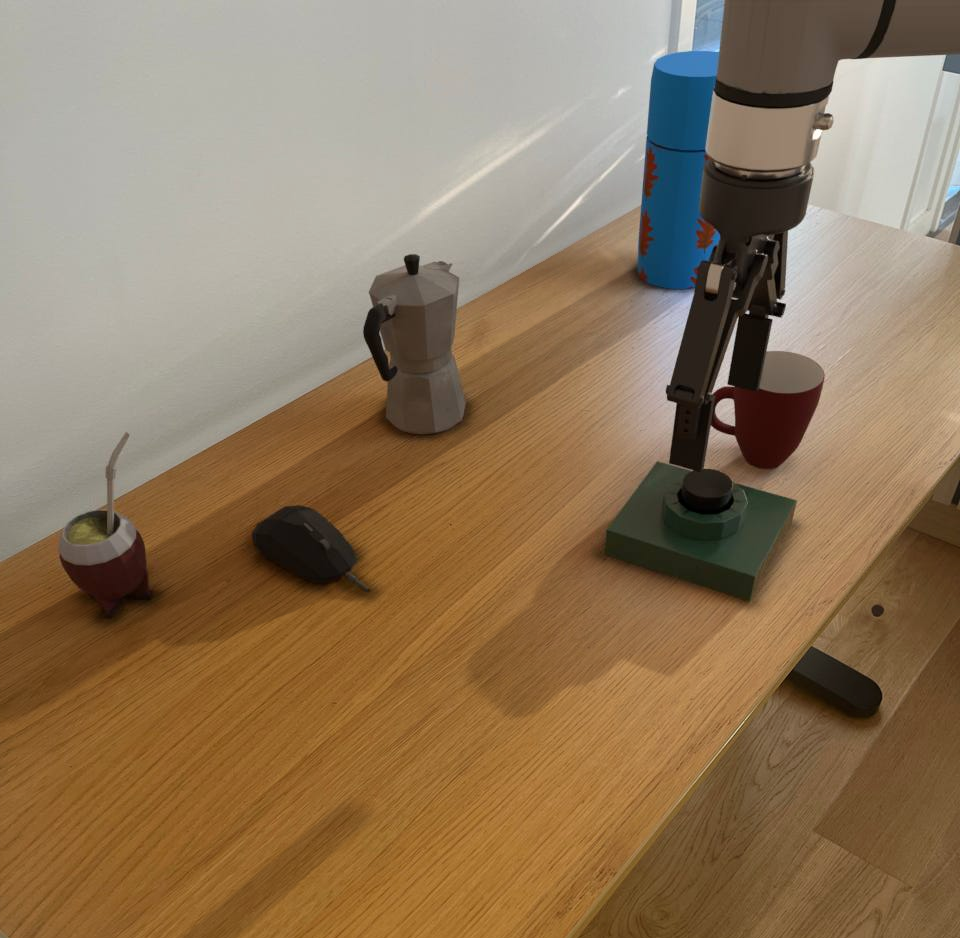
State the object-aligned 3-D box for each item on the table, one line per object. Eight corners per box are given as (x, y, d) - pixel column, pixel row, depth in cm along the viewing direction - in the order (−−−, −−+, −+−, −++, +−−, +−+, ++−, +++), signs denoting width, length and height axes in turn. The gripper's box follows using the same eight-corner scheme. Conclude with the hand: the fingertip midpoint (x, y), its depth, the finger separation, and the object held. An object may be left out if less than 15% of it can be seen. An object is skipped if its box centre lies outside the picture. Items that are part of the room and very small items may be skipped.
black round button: (736, 494, 86) (739, 476, 85) (719, 521, 84) (722, 503, 82) (690, 481, 88) (693, 463, 87) (673, 507, 85) (675, 489, 84)
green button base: (791, 525, 90) (801, 482, 87) (749, 602, 83) (759, 559, 79) (654, 485, 95) (658, 443, 92) (604, 554, 88) (607, 512, 85)
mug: (698, 476, 96) (711, 389, 89) (700, 432, 102) (713, 346, 94) (805, 484, 94) (827, 396, 87) (802, 439, 100) (822, 353, 93)
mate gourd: (69, 618, 85) (2, 483, 74) (105, 561, 91) (47, 427, 80) (147, 624, 84) (90, 488, 73) (179, 566, 90) (130, 431, 79)
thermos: (622, 263, 131) (636, 58, 113) (691, 248, 133) (715, 45, 115) (660, 296, 124) (681, 82, 106) (732, 280, 126) (764, 68, 108)
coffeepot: (422, 375, 112) (408, 222, 99) (491, 394, 109) (485, 237, 96) (347, 442, 103) (320, 282, 90) (419, 464, 100) (402, 302, 87)
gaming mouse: (343, 610, 84) (336, 577, 82) (241, 543, 92) (231, 510, 89) (393, 574, 88) (388, 541, 85) (290, 512, 95) (283, 479, 92)
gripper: (752, 237, 56) (705, 517, 72) (862, 112, 71) (803, 366, 86) (636, 216, 59) (614, 490, 75) (765, 99, 74) (725, 348, 89)
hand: (716, 424), depth 80 cm, fingers open, 13 cm apart
